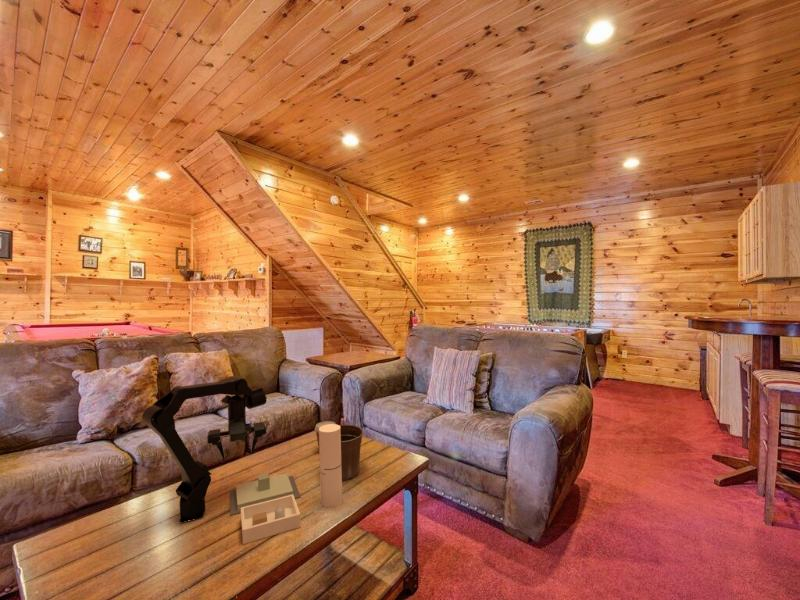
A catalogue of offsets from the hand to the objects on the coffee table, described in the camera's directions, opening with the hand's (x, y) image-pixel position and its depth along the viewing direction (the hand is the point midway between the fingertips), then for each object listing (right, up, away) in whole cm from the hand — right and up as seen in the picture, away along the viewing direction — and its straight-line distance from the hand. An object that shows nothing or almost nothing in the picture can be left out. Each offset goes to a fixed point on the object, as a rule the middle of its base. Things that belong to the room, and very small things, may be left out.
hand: (238, 456), depth 130 cm
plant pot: (+35, -12, +12) cm, 39 cm away
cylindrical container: (+34, -13, -6) cm, 37 cm away
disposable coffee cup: (+25, -12, +31) cm, 42 cm away
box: (+18, -13, -18) cm, 28 cm away
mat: (+10, -13, -1) cm, 16 cm away
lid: (+10, -13, -1) cm, 16 cm away
